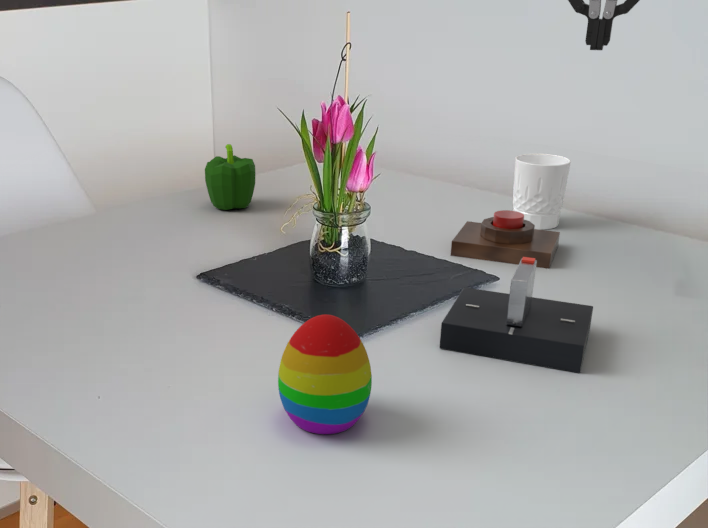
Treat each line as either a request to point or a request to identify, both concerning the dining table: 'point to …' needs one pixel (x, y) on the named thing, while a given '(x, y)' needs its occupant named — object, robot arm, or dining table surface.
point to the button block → (505, 243)
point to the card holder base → (518, 330)
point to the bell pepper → (230, 181)
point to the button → (508, 219)
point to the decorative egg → (325, 376)
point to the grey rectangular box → (521, 291)
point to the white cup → (540, 188)
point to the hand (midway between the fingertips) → (596, 49)
